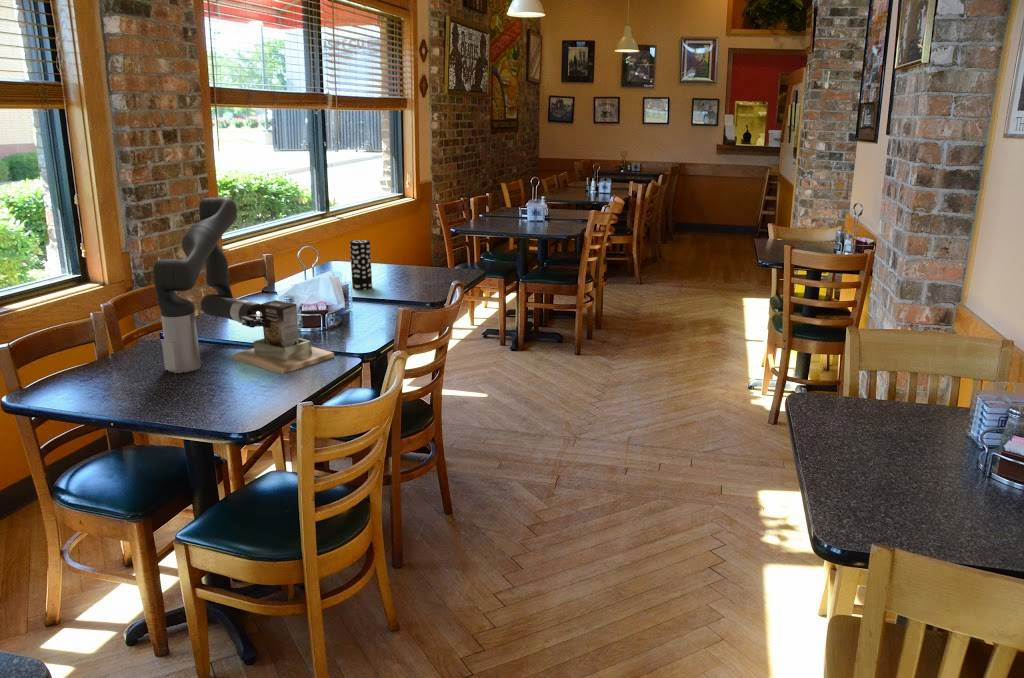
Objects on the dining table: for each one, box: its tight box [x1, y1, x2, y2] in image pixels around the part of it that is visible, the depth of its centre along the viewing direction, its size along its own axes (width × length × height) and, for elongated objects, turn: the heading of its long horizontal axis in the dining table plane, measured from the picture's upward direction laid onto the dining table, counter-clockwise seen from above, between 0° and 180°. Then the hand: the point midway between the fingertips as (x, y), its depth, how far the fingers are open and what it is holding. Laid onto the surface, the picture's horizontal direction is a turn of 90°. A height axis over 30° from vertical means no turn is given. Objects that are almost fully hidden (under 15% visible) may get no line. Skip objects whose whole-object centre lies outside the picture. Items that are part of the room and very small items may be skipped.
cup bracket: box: [232, 337, 335, 375], centre depth 247 cm, size 20×24×6 cm
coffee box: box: [260, 299, 300, 348], centre depth 245 cm, size 9×6×16 cm
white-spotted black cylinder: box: [349, 239, 373, 291], centre depth 334 cm, size 8×8×20 cm
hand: (280, 321), depth 244 cm, fingers open, 8 cm apart
